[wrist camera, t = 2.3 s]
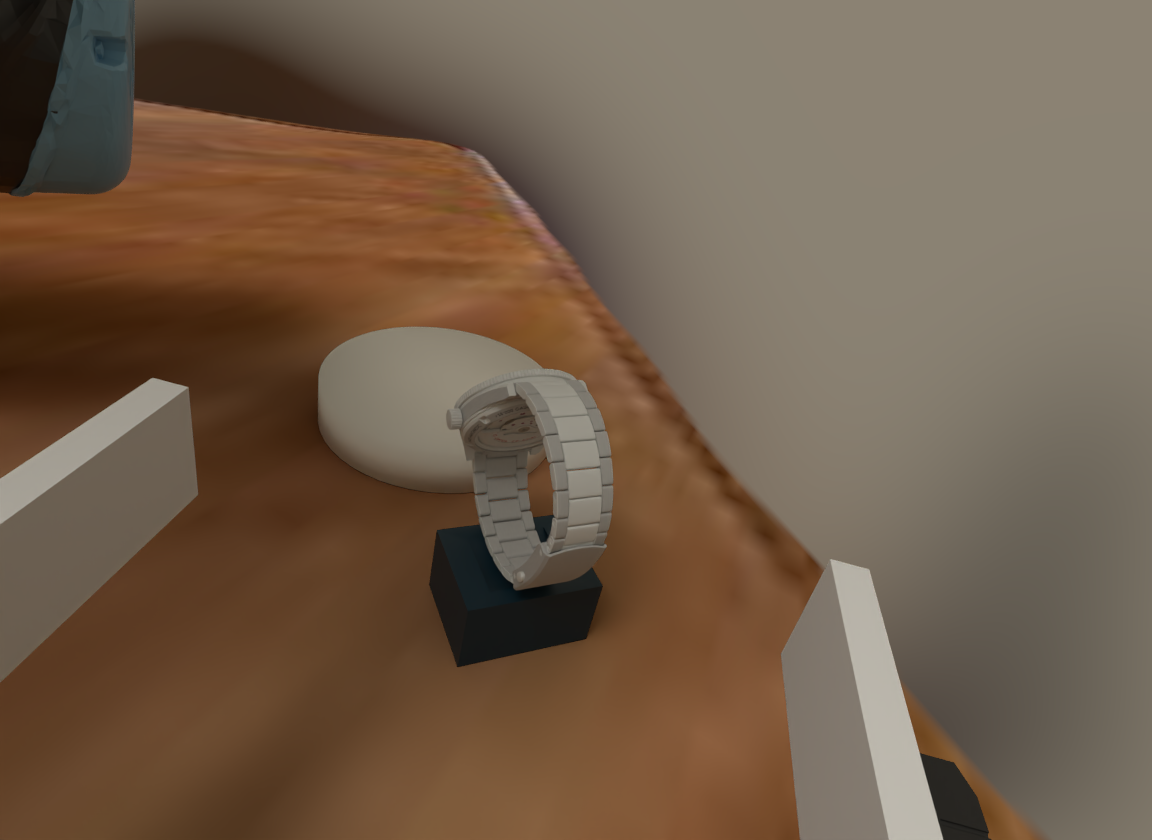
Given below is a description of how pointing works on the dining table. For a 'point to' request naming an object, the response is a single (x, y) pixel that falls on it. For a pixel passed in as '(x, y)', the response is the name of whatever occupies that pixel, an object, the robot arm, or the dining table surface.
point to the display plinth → (408, 403)
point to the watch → (525, 518)
